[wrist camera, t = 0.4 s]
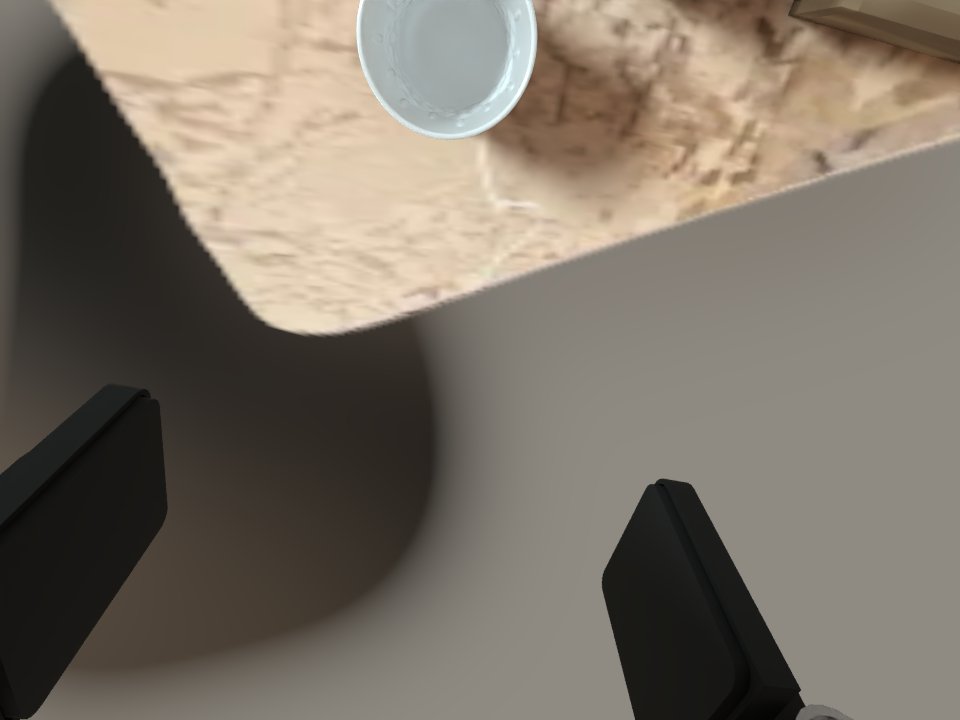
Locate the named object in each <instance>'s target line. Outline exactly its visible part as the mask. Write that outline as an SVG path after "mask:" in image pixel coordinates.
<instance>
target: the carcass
mask: <svg viewBox="0 0 960 720" xmlns="http://www.w3.org/2000/svg"><path fill="white" fill-rule="evenodd" d="M789 15H790V16H793V17H797V18H800V19H804V20H807V21H811V22H814V23H818V24H822V25H825V26H829V27H832V28H836V29H839V30H843V31H846V32H850V33H853V34H857V35H860V36H864V37H867V38H871V39H874V40H878V41H881V42H885V43H888V44H892V45H896V46H899V47H903V48H906V49H910V50H913V51H917V52H920V53H924V54H927V55H931V56H934V57H938V58H941V59H945V60H948V61H952V62H955V63H959V64H960V0H794V3H793V5H792V8H791V10H790V12H789Z"/></svg>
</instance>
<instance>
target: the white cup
mask: <svg viewBox="0 0 960 720" xmlns="http://www.w3.org/2000/svg"><path fill="white" fill-rule="evenodd" d="M357 45H358V52H359V57H360V61H361V65H362V68H363V71H364V74H365V77H366V79H367V81H368V83H369V85H370V87H371V89H372V91H373V93H374V94H375V96H376V97H377V99H378V100H379V102H380V103H381V104H382V106H383V107H384V108H385V109H386V110H387V111H388V112H389V113H390V114H391V115H392V116H393V117H394V118H395V119H396V120H397V121H399V122H400V123H401V124H403V125H404V126H406V127H407V128H409V129H411V130H413V131H415V132H417V133H419V134H422V135H425V136H428V137H431V138H436V139H444V140H455V139H463V138H468V137H472V136H475V135H478V134H480V133H482V132H484V131H486V130H488V129H490V128H492V127H493V126H495V125H496V124H497V123H499V122H500V121H501V120H502V119H503V118H505V117H506V116H507V115H508V114H509V113H510V111H511V110H512V109H513V108H514V107H515V105H516V104H517V103H518V101H519V100H520V98H521V96H522V95H523V93H524V91H525V89H526V87H527V85H528V83H529V80H530V77H531V75H532V71H533V68H534V64H535V59H536V52H537V22H536V15H535V10H534V6H533V3H532V0H360V4H359V9H358V16H357Z"/></svg>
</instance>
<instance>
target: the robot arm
mask: <svg viewBox="0 0 960 720" xmlns="http://www.w3.org/2000/svg"><path fill="white" fill-rule="evenodd" d="M166 515H167V493H166V482H165V467H164V454H163V442H162V429H161V416H160V405H159V402H158V401H157V400H156V399H152V398H151V396H150V393H149V391H148V390H146V389H142V388H136V387H130V386H125V385H118V384H108V385H106V386H105V387H103V388H102V389H101V390H100V391H99V392H98V393H96V394H95V395H94V396H93V397H92V398H91V399H89V400H88V401H87V402H86V403H85V404H84V405H83V406H81V408H79V409H78V410H77V411H76V412H75V413H73V414H72V415H71V416H70V417H69V418H68V419H66V420H65V421H64V422H63V423H62V424H61V425H60V426H59V427H57V428H56V429H55V430H54V431H53V432H52V433H50V434H49V435H48V436H47V437H46V438H45V439H43V440H42V441H41V442H40V443H39V444H38V445H37V446H35V447H34V448H33V449H32V450H31V451H30V452H28V453H27V454H25V455H24V456H22V457H21V458H19V459H18V460H17V461H16V462H15V463H13V464H12V465H11V466H10V467H9V468H8V469H7V470H5V471H4V472H3V473H2V474H1V475H0V720H20V719H28V718H30V717H31V716H33V715H34V714H35V713H36V712H37V710H38V709H39V708H40V706H41V705H42V704H43V702H44V701H45V699H46V698H47V696H48V695H49V693H50V691H51V690H52V689H53V687H54V686H55V684H56V683H57V681H58V680H59V679H60V677H61V676H62V674H63V673H64V671H65V670H66V668H67V667H68V665H69V664H70V662H71V661H72V659H73V658H74V656H75V655H76V653H77V652H78V650H79V649H80V647H81V646H82V644H83V643H84V641H85V640H86V638H87V637H88V635H89V634H90V632H91V631H92V629H93V628H94V627H95V625H96V624H97V622H98V621H99V619H100V618H101V616H102V615H103V613H104V612H105V610H106V609H107V607H108V606H109V604H110V603H111V601H112V600H113V598H114V597H115V595H116V594H117V592H118V591H119V589H120V588H121V586H122V585H123V583H124V582H125V581H126V579H127V578H128V576H129V575H130V573H131V572H132V570H133V569H134V567H135V565H136V564H137V563H138V561H139V560H140V558H141V557H142V555H143V554H144V552H145V551H146V549H147V548H148V546H149V545H150V543H151V542H152V540H153V539H154V537H155V536H156V534H157V533H158V531H159V530H160V528H161V527H162V525H163V523H164V520H165V518H166ZM602 590H603V594H604V598H605V602H606V606H607V610H608V614H609V618H610V622H611V625H612V630H613V633H614V638H615V641H616V645H617V649H618V653H619V657H620V661H621V665H622V669H623V673H624V677H625V681H626V685H627V689H628V693H629V697H630V701H631V705H632V709H633V713H634V716H635V720H853V719H851V718H850V717H848V716H846V715H844V714H843V713H841V712H840V711H838V710H836V709H833V708H830V707H827V706H824V705H808V706H805V705H804V703H803V701H802V699H801V697H800V695H799V692H800V691H801V689H800V687H799V685H798V683H797V682H796V679H795V678H794V676H793V674H792V672H791V670H790V668H789V667H788V664H787V663H786V661H785V659H784V657H783V655H782V653H781V651H780V650H779V648H778V646H777V644H776V642H775V640H774V638H773V636H772V634H771V633H770V631H769V629H768V627H767V625H766V623H765V621H764V619H763V617H762V616H761V614H760V612H759V610H758V608H757V606H756V604H755V603H754V601H753V599H752V597H751V595H750V593H749V591H748V589H747V587H746V585H745V584H744V582H743V580H742V578H741V576H740V574H739V572H738V570H737V569H736V567H735V565H734V563H733V561H732V559H731V557H730V555H729V554H728V552H727V550H726V548H725V546H724V544H723V542H722V540H721V539H720V537H719V535H718V533H717V531H716V529H715V527H714V526H713V523H712V522H711V520H710V518H709V516H708V514H707V512H706V510H705V509H704V507H703V505H702V503H701V501H700V499H699V497H698V495H697V494H696V492H695V490H694V488H693V487H692V485H691V484H689V483H686V482H679V481H674V480H668V479H659V480H658V481H657V482H656V483H655V484H650V485H648V486H647V488H646V490H645V491H644V494H643V495H642V497H641V499H640V502H639V503H638V505H637V507H636V509H635V511H634V513H633V515H632V517H631V519H630V521H629V523H628V525H627V527H626V529H625V531H624V533H623V535H622V537H621V539H620V541H619V543H618V545H617V547H616V549H615V551H614V553H613V554H612V557H611V559H610V560H609V563H608V564H607V566H606V568H605V570H604V573H603V577H602Z"/></svg>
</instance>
